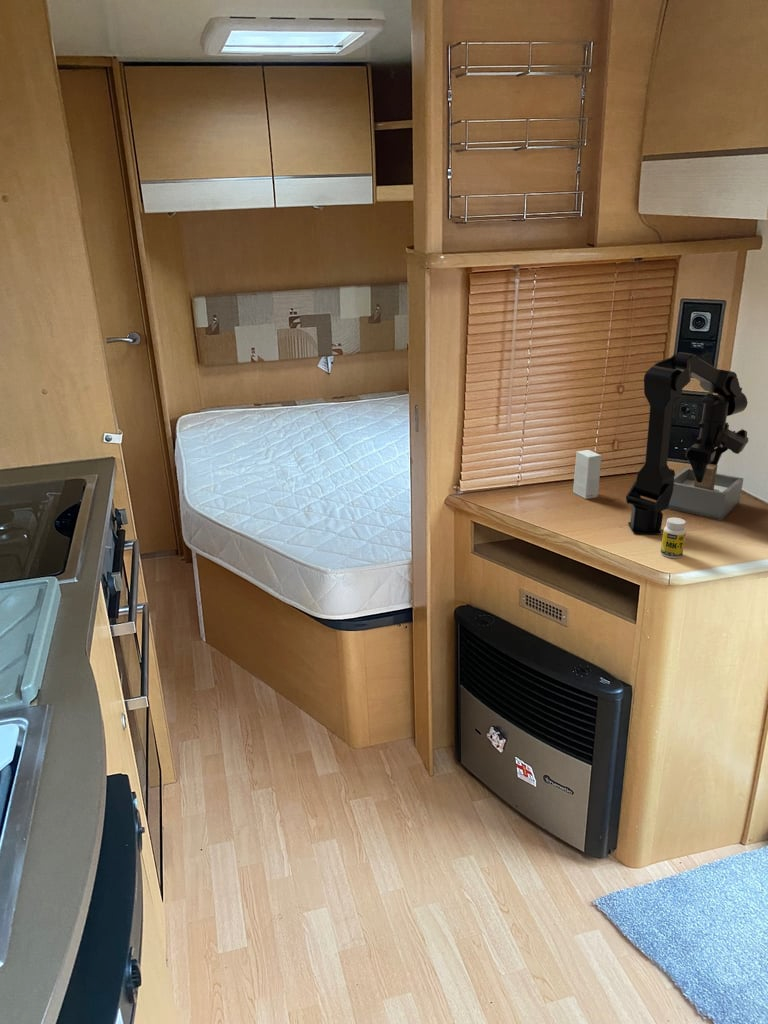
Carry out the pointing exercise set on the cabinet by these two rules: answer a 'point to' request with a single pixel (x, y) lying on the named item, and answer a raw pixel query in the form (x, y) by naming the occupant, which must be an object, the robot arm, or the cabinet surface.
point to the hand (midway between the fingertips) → (705, 477)
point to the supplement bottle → (673, 538)
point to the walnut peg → (708, 478)
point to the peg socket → (705, 495)
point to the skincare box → (587, 474)
